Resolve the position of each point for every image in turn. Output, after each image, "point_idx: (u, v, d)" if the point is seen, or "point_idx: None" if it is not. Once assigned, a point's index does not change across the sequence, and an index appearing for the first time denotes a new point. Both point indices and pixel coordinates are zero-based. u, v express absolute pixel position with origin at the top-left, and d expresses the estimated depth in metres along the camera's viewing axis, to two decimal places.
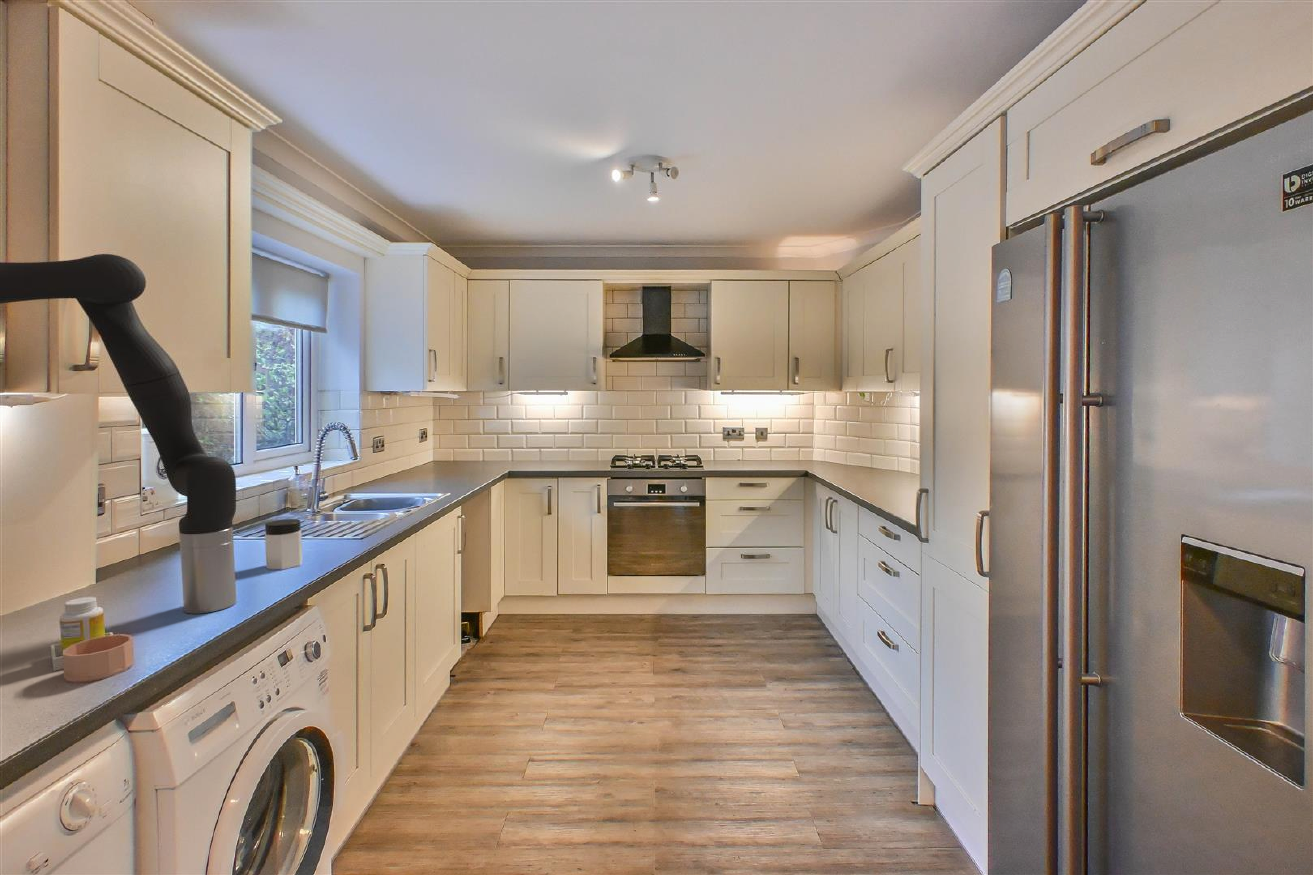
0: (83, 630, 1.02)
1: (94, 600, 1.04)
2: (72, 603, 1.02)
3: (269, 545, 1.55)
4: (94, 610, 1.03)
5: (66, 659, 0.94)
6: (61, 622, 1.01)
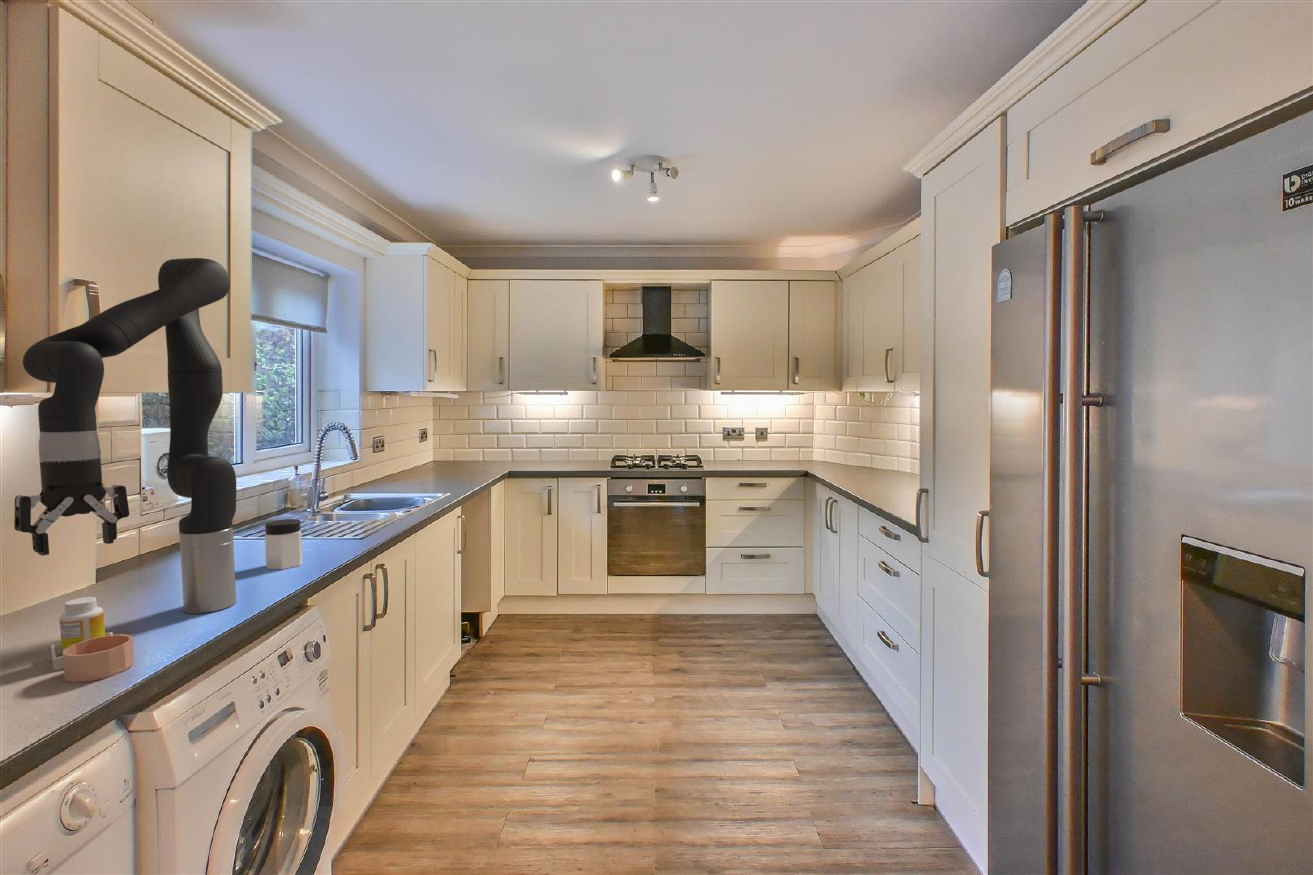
0: (83, 630, 1.02)
1: (94, 600, 1.04)
2: (72, 603, 1.02)
3: (269, 545, 1.55)
4: (94, 610, 1.03)
5: (66, 659, 0.94)
6: (61, 622, 1.01)
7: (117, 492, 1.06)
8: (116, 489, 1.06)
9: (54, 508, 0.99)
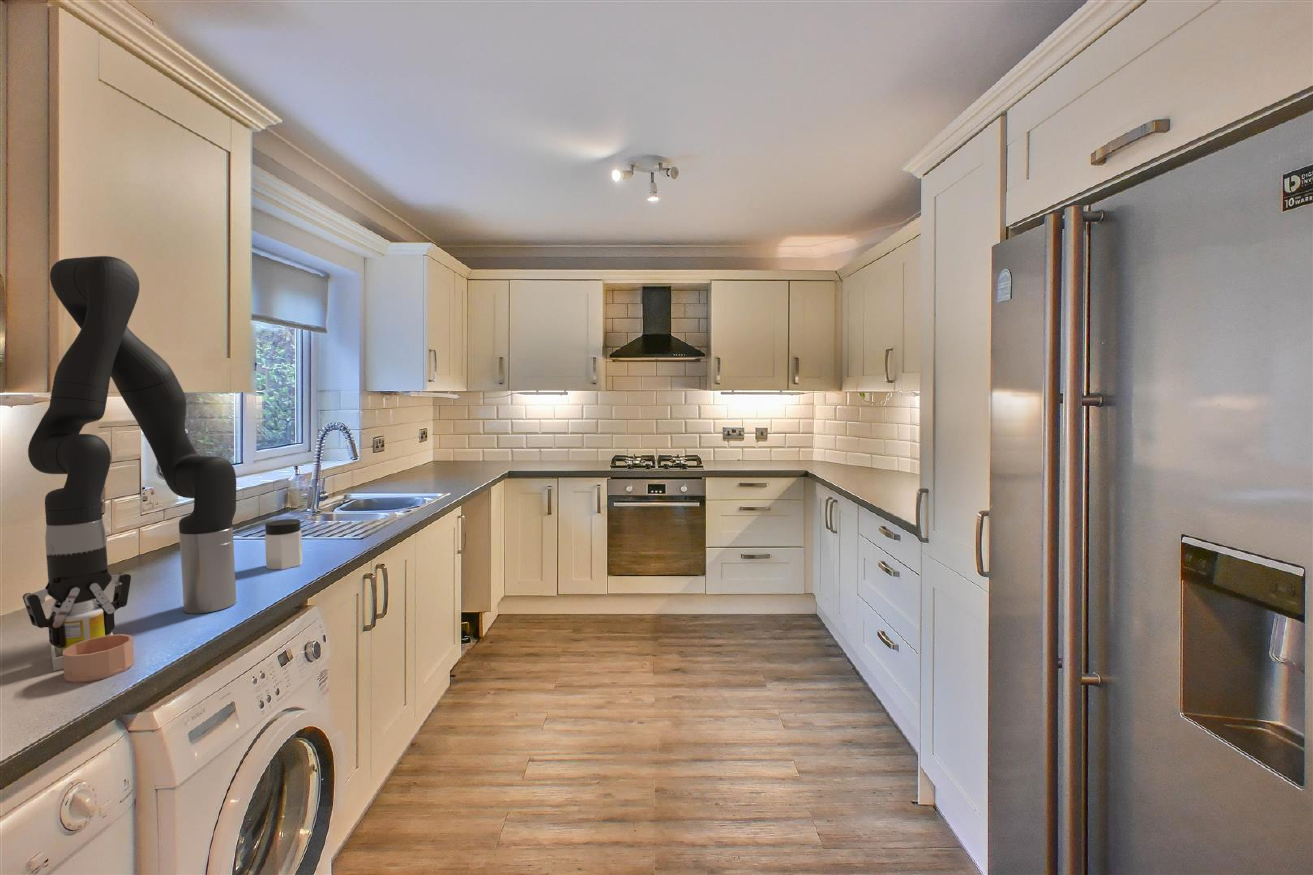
0: (83, 630, 1.02)
1: (94, 600, 1.04)
2: None
3: (269, 545, 1.55)
4: (94, 610, 1.03)
5: (66, 659, 0.94)
6: None
7: (121, 580, 1.07)
8: (121, 577, 1.08)
9: (63, 601, 1.00)
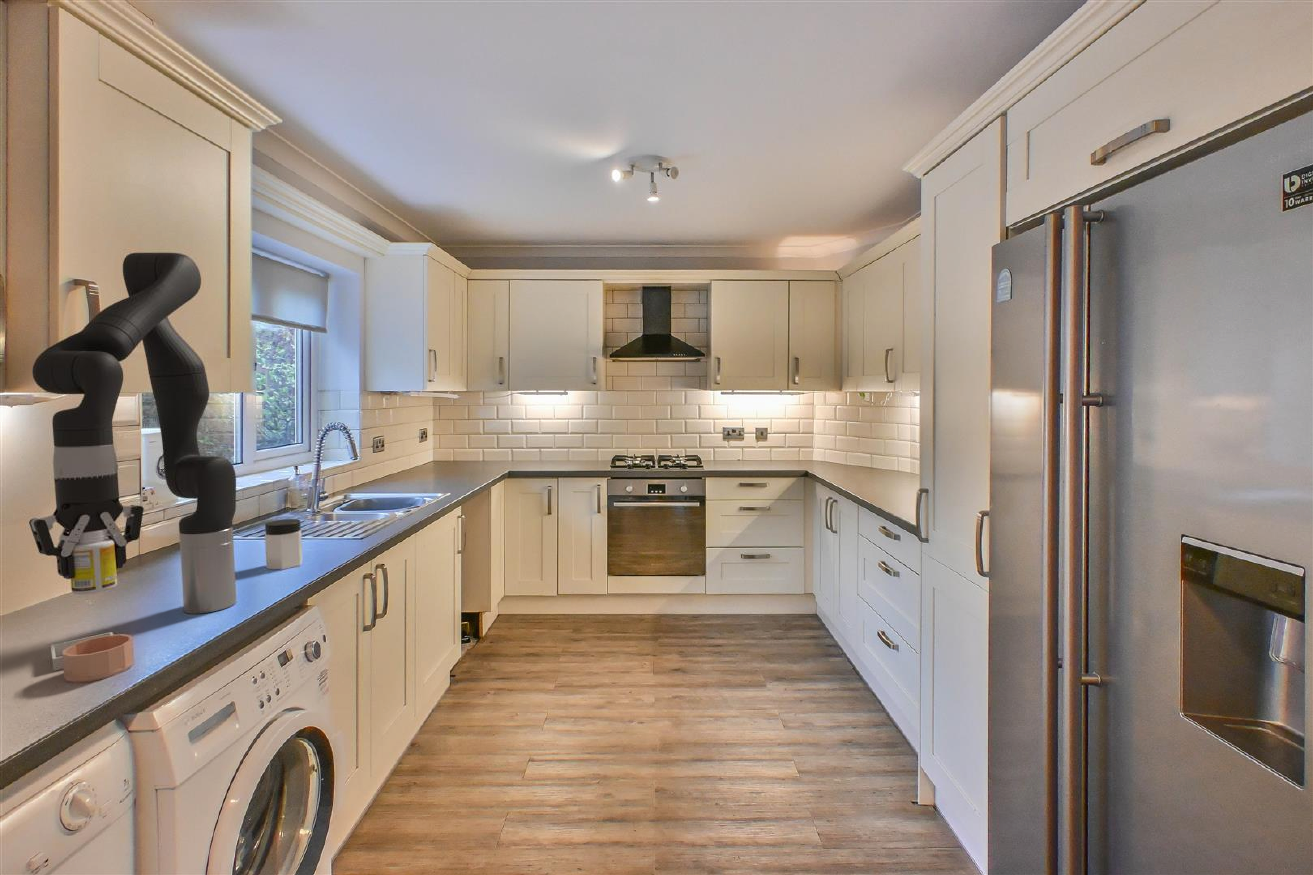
0: (93, 561, 0.95)
1: (105, 530, 0.97)
2: None
3: (269, 545, 1.55)
4: (105, 541, 0.97)
5: (66, 659, 0.94)
6: None
7: (133, 512, 1.01)
8: (133, 509, 1.01)
9: (72, 529, 0.94)
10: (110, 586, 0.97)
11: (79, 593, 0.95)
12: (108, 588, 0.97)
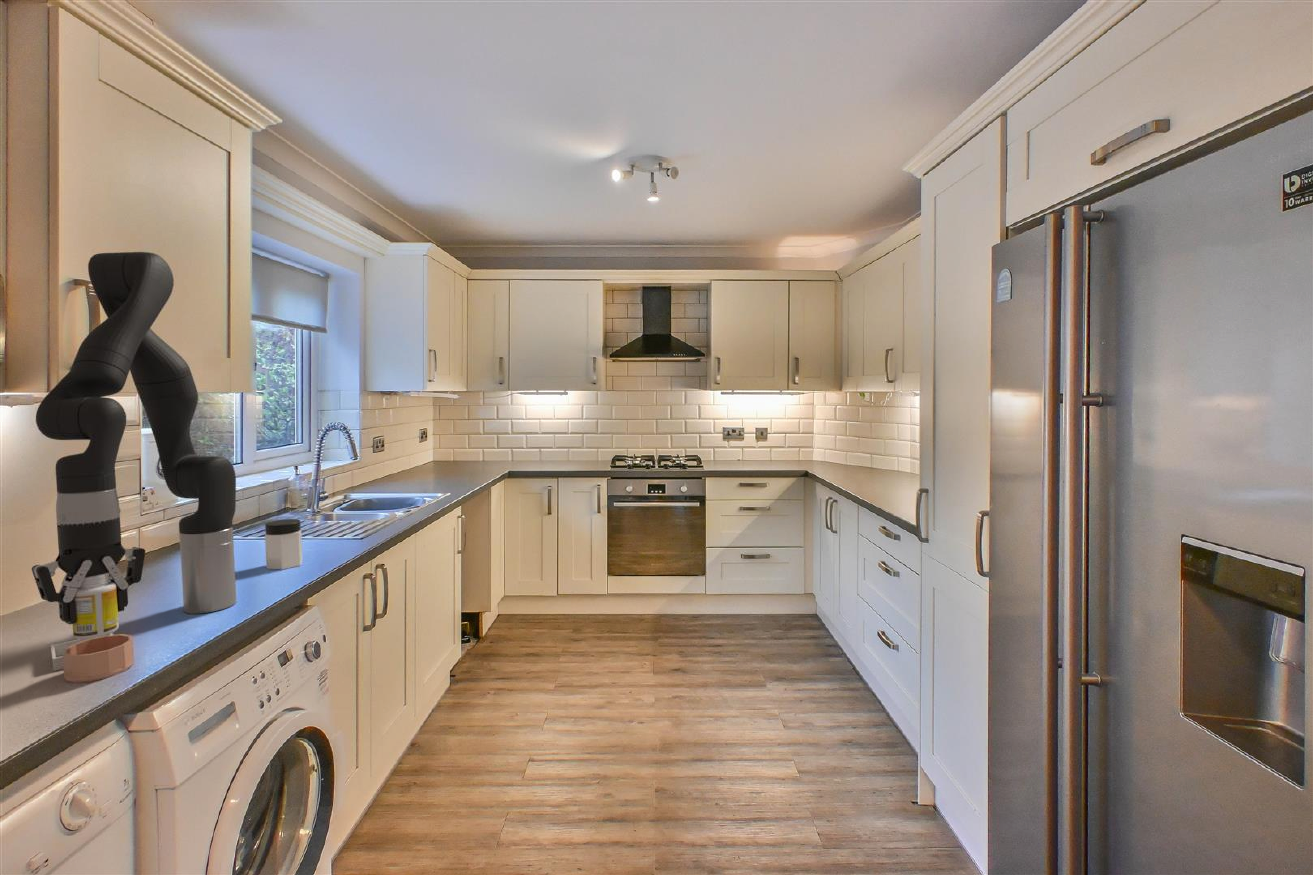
0: (95, 605, 0.96)
1: (107, 574, 0.98)
2: None
3: (269, 545, 1.55)
4: (107, 585, 0.98)
5: (66, 659, 0.94)
6: None
7: (135, 555, 1.02)
8: (135, 551, 1.02)
9: (74, 574, 0.94)
10: (112, 630, 0.98)
11: (81, 638, 0.95)
12: (110, 632, 0.98)
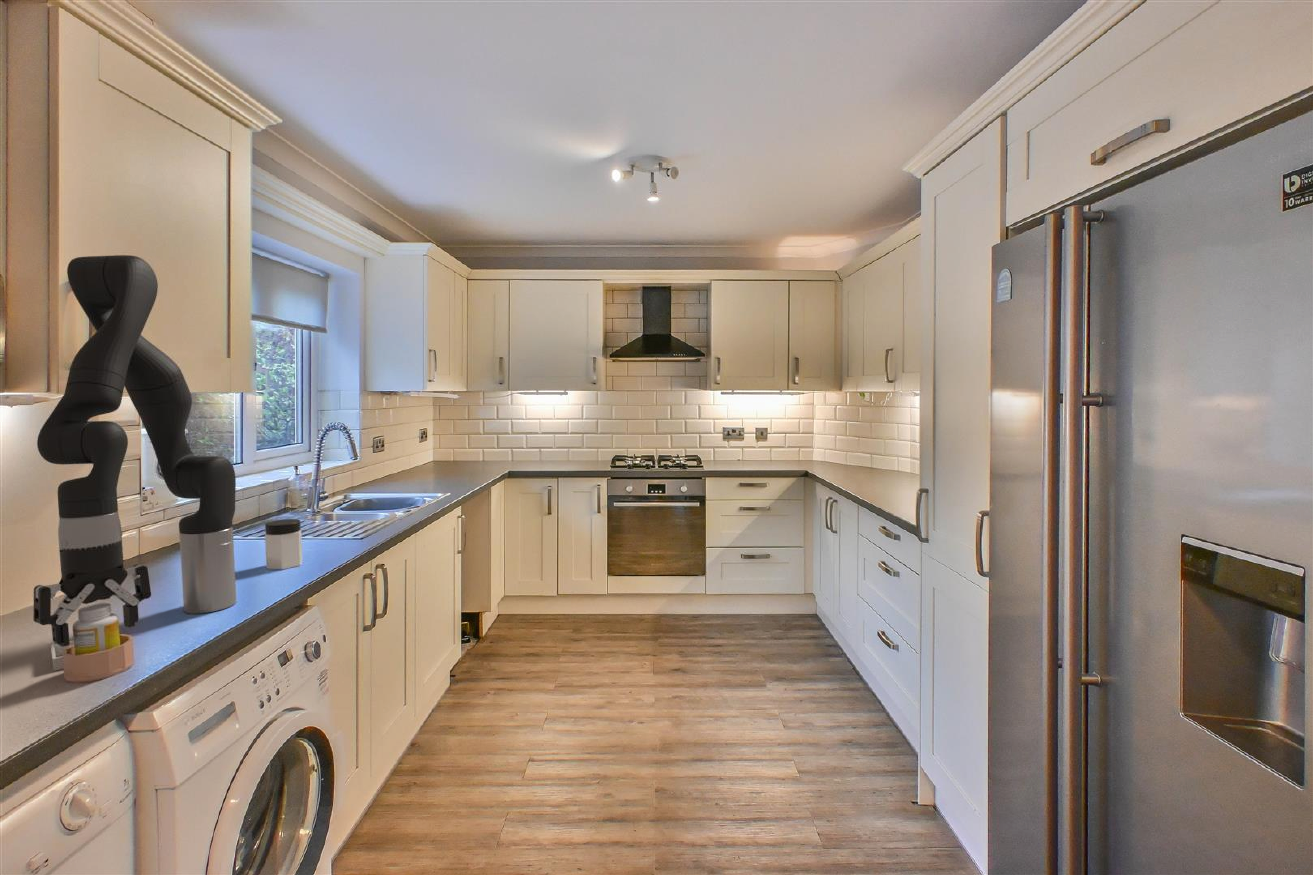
0: (97, 638, 0.96)
1: (109, 607, 0.98)
2: (86, 610, 0.96)
3: (269, 545, 1.55)
4: (109, 617, 0.98)
5: (66, 659, 0.94)
6: (74, 630, 0.95)
7: (139, 573, 1.02)
8: (137, 570, 1.02)
9: (74, 596, 0.94)
10: None
11: None
12: None
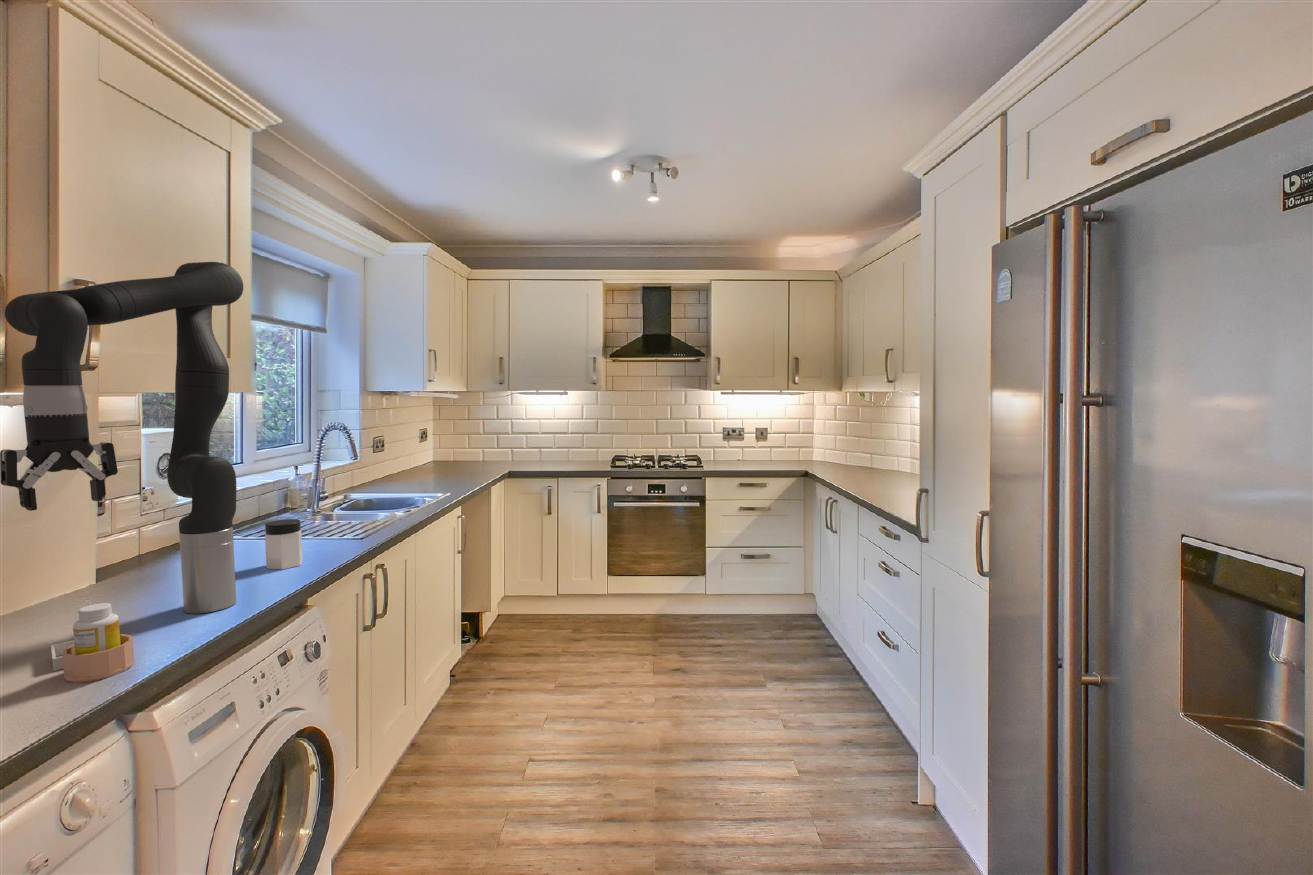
0: (98, 638, 0.96)
1: (109, 606, 0.98)
2: (86, 610, 0.96)
3: (269, 545, 1.55)
4: (109, 617, 0.98)
5: (66, 659, 0.94)
6: (75, 630, 0.95)
7: (105, 449, 1.05)
8: (103, 446, 1.05)
9: (41, 463, 0.97)
10: None
11: None
12: None
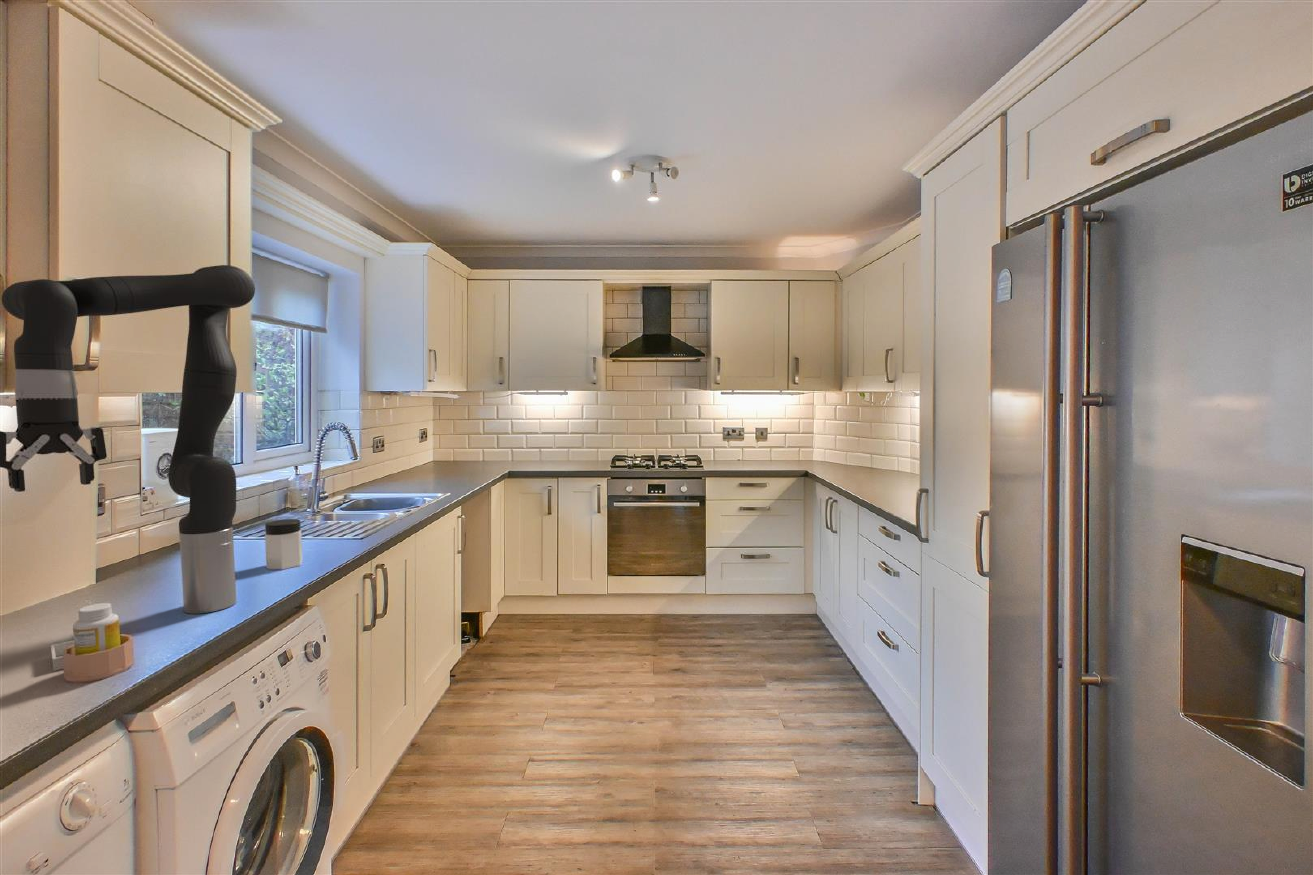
0: (98, 638, 0.96)
1: (109, 606, 0.98)
2: (86, 610, 0.96)
3: (269, 545, 1.55)
4: (109, 617, 0.98)
5: (66, 659, 0.94)
6: (75, 630, 0.95)
7: (94, 434, 1.07)
8: (93, 431, 1.07)
9: (30, 445, 1.00)
10: None
11: None
12: None
